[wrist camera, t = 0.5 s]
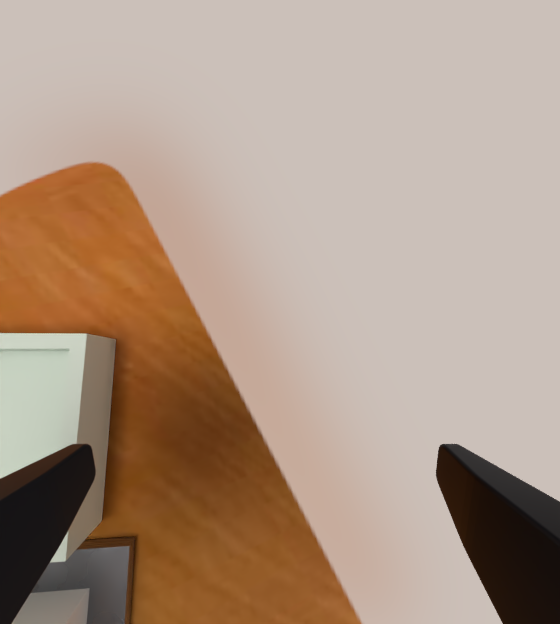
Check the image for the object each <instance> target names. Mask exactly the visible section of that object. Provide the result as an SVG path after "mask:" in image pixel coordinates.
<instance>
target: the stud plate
mask: <svg viewBox="0 0 560 624" xmlns="http://www.w3.org/2000/svg"><path fill="white" fill-rule="evenodd" d="M134 550H135V537H123V538H108V539H93V540H84V541H83V542H82V544H81V545H80V546H79V547H78V548H77V549H76V550H75V551H74V552H73V554H72V555H71V556H70V557H69V558H68V559H67V560H66V561H64V562H50V563H49V564H48V566H47V568H46V569H45V571H44V573H43V574H42V576H41V577H40V579H39V581H38V582H37V584H36V585H35V587H34V589H33V590H32V592H31V593H38V592H50V591H62V590H74V589H86V588H90V589H89V601H88V613H87V624H130V615H131V598H132V582H133V566H134Z"/></svg>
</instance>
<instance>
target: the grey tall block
mask: <svg viewBox="0 0 560 624" xmlns="http://www.w3.org/2000/svg"><path fill="white" fill-rule="evenodd" d="M89 589H90V588H86V589H74V590H62V591H50V592H38V593H30V595H29V597H28V598H27V600H26V601H25V603H24V605H23V606H22V608H21V609H20V611H19V613H18V614H17V616H16V617H15V619H14V621H13V622H12V624H87V613H88V601H89Z"/></svg>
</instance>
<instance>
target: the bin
mask: <svg viewBox="0 0 560 624" xmlns="http://www.w3.org/2000/svg"><path fill="white" fill-rule="evenodd" d="M115 347H116V339H112V338H107V337H102V336H97V335H91V334H63V333H0V478H3V477H5V476H7V475H9V474H11V473H13V472H15V471H17V470H19V469H21V468H23V467H25V466H28V465H30V464H32V463H34V462H36V461H38V460H40V459H42V458H44V457H46V456H48V455H50V454H52V453H55V452H57V451H59V450H61V449H63V448H65V447H67V446H69V445H71V444H89V445H90V446H91V447H92V451H93V457H94V462H95V468H96V475H95V479H94V482H93V484H92V486H91V487H90V489H89V491H88V493H87V495H86V497H85V499H84V501H83V503H82V505H81V507H80V509H79V511H78V513H77V515H76V517H75V519H74V521H73V522H72V524H71V526H70V528H69V530H68V532H67V534H66V536H65V538H64V539H63V541H62V543H61V545H60V546H59V548H58V550H57V552H56V553H55V555H54V556H53V558H52V560H51V561H50V562H64V561H66V560H67V559H68V558H69V557H70V556H71V555H72V554H73V552H74V551H75V550H76V549H77V548H78V547H79V546H80V545H81V544H82V542H83V541H84V540H85V539H86V538H87V537H88V536H89V535H90V534H91V532H92V531H93V530H94V529H95V528H96V527H97V526H98V525H99V524H100V522H101V521H102V514H103V501H104V488H105V475H106V463H107V450H108V437H109V424H110V411H111V399H112V386H113V373H114V360H115Z"/></svg>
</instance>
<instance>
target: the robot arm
mask: <svg viewBox="0 0 560 624" xmlns="http://www.w3.org/2000/svg"><path fill="white" fill-rule="evenodd" d="M95 475H96V468H95V462H94V457H93V451H92V447H91V446H90V445H89V444H71V445H69V446H67V447H65V448H63V449H61V450H59V451H57V452H55V453H52V454H50V455H48V456H46V457H44V458H42V459H40V460H38V461H36V462H34V463H32V464H30V465H28V466H25V467H23V468H21V469H19V470H17V471H15V472H13V473H11V474H9V475H7V476H5V477H3V478H0V624H12V622H13V621H14V619H15V617H16V616H17V614H18V613H19V611H20V609H21V608H22V606H23V605H24V603H25V601H26V600H27V598H28V597H29V595H30V593H31V592H32V590H33V589H34V587H35V585H36V584H37V582H38V581H39V579H40V577H41V576H42V574H43V573H44V571H45V569H46V568H47V566H48V564H49V563H50V561H51V560H52V558H53V556H54V555H55V553H56V552H57V550H58V548H59V546H60V545H61V543H62V541H63V539H64V538H65V536H66V534H67V532H68V530H69V528H70V526H71V524H72V522H73V521H74V519H75V517H76V515H77V513H78V511H79V509H80V507H81V505H82V503H83V501H84V499H85V497H86V495H87V493H88V491H89V489H90V487H91V486H92V484H93V482H94V479H95ZM436 477H437V481H438V484H439V487H440V489H441V491H442V494H443V496H444V499H445V501H446V504H447V507H448V509H449V511H450V514H451V516H452V519H453V521H454V524H455V527H456V529H457V532H458V534H459V536H460V539H461V541H462V543H463V546H464V548H465V550H466V552H467V554H468V556H469V558H470V560H471V562H472V564H473V566H474V568H475V570H476V572H477V574H478V576H479V578H480V580H481V582H482V584H483V586H484V588H485V590H486V591H487V594H488V596H489V597H490V599H491V601H492V603H493V605H494V607H495V609H496V611H497V613H498V615H499V617H500V619H501V621H502V623H503V624H560V502H559V501H557V500H556V499H554V498H552V497H550V496H549V495H547V494H545V493H543V492H542V491H540V490H538V489H536V488H535V487H532V486H531V485H529V484H527V483H525V482H524V481H522V480H520V479H518V478H516V477H515V476H513V475H511V474H510V473H508V472H506V471H504V470H503V469H501V468H499V467H497V466H496V465H494V464H492V463H490V462H488V461H487V460H485V459H483V458H481V457H479V456H478V455H476V454H474V453H472V452H471V451H469V450H467V449H465V448H464V447H462V446H460V445H458V444H442V445H440V447H439V451H438V459H437V469H436Z"/></svg>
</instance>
